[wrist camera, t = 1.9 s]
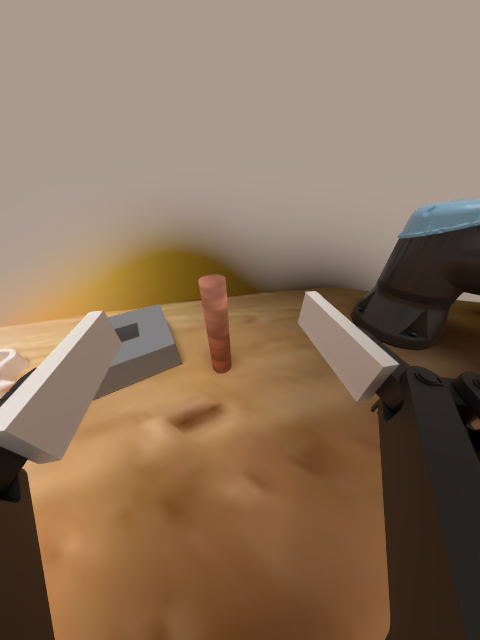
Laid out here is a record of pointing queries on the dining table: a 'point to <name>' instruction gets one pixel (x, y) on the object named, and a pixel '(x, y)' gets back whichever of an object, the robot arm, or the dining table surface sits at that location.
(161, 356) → the socket block
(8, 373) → the knuckle duster
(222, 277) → the dowel
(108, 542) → the dining table surface
